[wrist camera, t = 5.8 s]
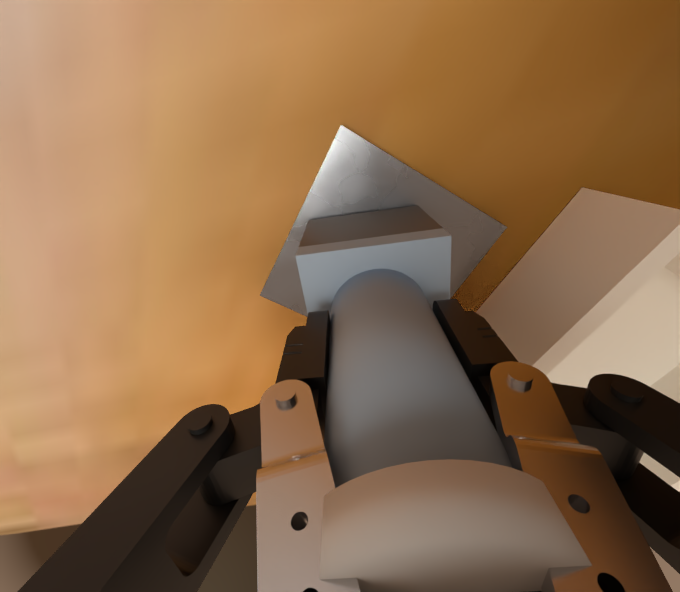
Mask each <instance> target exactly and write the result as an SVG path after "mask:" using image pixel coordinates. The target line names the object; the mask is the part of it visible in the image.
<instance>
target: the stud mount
mask: <svg viewBox="0 0 680 592" xmlns="http://www.w3.org/2000/svg"><path fill="white" fill-rule="evenodd" d="M416 205H418V206H419V207H420V208H421V209H422V210H424V211H425V212H426V213H427V214H428V215H429V216H430V217H431V218H432V219H434V220H435V221H436V222H437V223H438V224H439V225H440V226H441V227H442V228H444V229H445V230H446V231H447V232H448V233H449V234H450V235H451V273H450V299H451V297H452V296H453V295H454V293H455V292H456V291H457V290H458V288H459V287H460V286H461V285H462V283H463V282H464V281H465V280H466V278H467V277H468V276H469V275H470V273H471V272H472V271H473V270H474V268H475V267H476V266H477V264H478V263H479V262H480V261H481V259H482V258H483V257H484V256H485V254H486V253H487V252H488V251H489V249H490V248H491V247H492V246H493V244H494V243H495V242H496V241H497V239H498V238H499V237H500V236H501V234H502V233H503V232H504V230H505V229H506V228H507V227H506V226H504V225H503V224H501V223H500V222H498V221H496V220H495V219H493V218H491V217H490V216H488V215H487V214H485V213H483V212H482V211H480V210H478V209H477V208H475V207H474V206H472V205H470V204H469V203H467V202H465V201H464V200H462V199H461V198H459V197H457V196H456V195H454V194H453V193H451V192H449V191H448V190H446V189H444V188H443V187H441V186H440V185H438V184H436V183H435V182H433V181H431V180H430V179H428V178H427V177H425V176H423V175H422V174H420V173H418V172H417V171H415V170H414V169H412V168H410V167H409V166H407V165H405V164H404V163H402V162H401V161H399V160H397V159H396V158H394V157H392V156H391V155H389V154H388V153H386V152H384V151H383V150H381V149H379V148H378V147H376V146H375V145H373V144H371V143H370V142H368V141H366V140H365V139H363V138H362V137H360V136H358V135H357V134H355V133H353V132H352V131H350V130H349V129H347V128H345V127H344V126H342V125H341V126H340V128H339V130H338V133H337V135H336V137H335V139H334V141H333V143H332V145H331V147H330V149H329V151H328V153H327V156H326V158H325V160H324V162H323V164H322V166H321V168H320V170H319V172H318V174H317V177H316V179H315V181H314V183H313V185H312V187H311V189H310V191H309V193H308V195H307V198H306V200H305V202H304V204H303V206H302V208H301V210H300V212H299V214H298V216H297V219H296V221H295V223H294V225H293V227H292V229H291V231H290V233H289V235H288V237H287V240H286V242H285V244H284V246H283V248H282V250H281V252H280V254H279V256H278V258H277V260H276V263H275V265H274V267H273V269H272V271H271V273H270V275H269V277H268V279H267V281H266V284H265V286H264V288H263V290H262V292H261V294H260V296H262V297H264V298H267V299H269V300H271V301H273V302H276V303H278V304H280V305H282V306H285V307H287V308H289V309H291V310H293V311H296V312H298V313H300V314H302V315H305V316H307V317H308V313H307V308H306V304H305V299H304V294H303V289H302V285H301V280H300V275H299V270H298V266H297V261H296V253H297V250H298V248H299V245H300V242H301V239H302V237H303V234H304V231H305V229H306V226H307V223H308V220H313V219H321V218H328V217H335V216H343V215H350V214H357V213H365V212H372V211H379V210H387V209H394V208H401V207H409V206H416Z"/></svg>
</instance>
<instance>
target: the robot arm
mask: <svg viewBox="0 0 680 592" xmlns="http://www.w3.org/2000/svg"><path fill="white" fill-rule="evenodd" d="M433 312H434V314H435V316H436V318H437V320H438V322H439V323H440V325H441V327H442V329H443V331H444V333H445V335H446V337H447V339H448V340H449V342H450V344H451V346H452V348H453V350H454V352H455V354H456V356H457V357H458V359H459V361H460V363H461V365H462V367H463V369H464V371H465V373H466V375H467V376H468V378H469V380H470V382H471V384H472V386H473V388H474V390H475V392H476V393H477V395H478V397H479V399H480V401H481V403H482V405H483V407H484V409H485V410H486V412H487V414H488V416H489V418H490V420H491V422H492V424H493V426H494V427H495V429H496V431H497V433H498V435H499V437H500V439H501V441H502V443H503V446H504V448H505V450H506V452H507V455H508V457H509V460H510V463H511V465H512V468H514V469H517V470H519V471H522V472H525V473H528V474H529V475H531V476H533V477H535V478H537V479H539V480H541V481H543V483H544V484H545V486H546V488H547V489H548V491H549V493H550V494H551V496H552V498H553V500H554V501H555V503H556V505H557V506H558V508H559V510H560V511H561V513H562V515H563V517H564V518H565V520H566V522H567V523H568V525H569V527H570V528H571V530H572V532H573V533H574V535H575V537H576V539H577V540H578V542H579V544H580V545H581V547H582V549H583V550H584V552H585V554H586V555H587V557H588V559H589V561H590V562H591V564H592V565H591V566H572V567H553V568H549V569H548V571H547V574H546V576H545V579H544V581H543V584H542V586H541V589H542V591H531V592H673V591H672V589H671V587H670V585H669V583H668V582H667V580H666V578H665V576H664V574H663V572H662V570H661V568H660V566H659V564H658V562H657V560H656V558H655V556H654V554H653V552H652V551H651V549H650V547H651V548H652V549H653V550H654V551H655V552H657V553H658V554H659V555H660V556H661V557H662V558H663V559H664V560H665V561H666V562H667V563H669V564H670V565H671V566H672V567H673V568H674V569H675V570H676V571H677V572H678V573H679V574H680V492H678V491H677V490H676V489H674V488H673V487H672V486H670V485H669V484H668V483H666V482H665V481H664V480H662V479H661V478H660V477H658V476H657V475H656V474H654V473H653V472H651V471H650V470H649V469H647V468H646V467H645V466H643V465H642V464H641V463H639V461H640V460H641V458H642V456H643V454H644V453H646V454H647V455H649V456H650V457H651V458H653V459H654V460H656V461H657V462H658V463H660V464H661V465H663V466H664V467H665V468H667V469H668V470H670V471H671V472H672V473H674V474H675V475H677V476H678V477H679V478H680V403H678V402H677V401H675V400H673V399H671V398H669V397H668V396H666V395H664V394H662V393H660V392H659V391H657V390H655V389H653V388H651V387H649V386H648V385H646V384H644V383H642V382H640V381H638V380H635V379H632V378H629V377H626V376H622V375H617V374H599V375H595V376H594V377H592V378H591V379H590V381H589V383H588V386H587V388H583V387H576V386H569V385H562V384H556V383H552V382H550V380H549V379H548V377H547V376H546V375H545V374H544V373H543V372H542V371H540V370H539V369H537V368H535V367H533V366H531V365H528V364H525V363H521V362H518V361H517V359H516V358H515V357H514V355H513V354H512V353H511V352H510V350H509V349H508V348H507V346H506V345H505V344H504V342H503V341H502V340H501V339H500V337H498V336H497V333H496V332H495V331H494V330H493V329H492V327H491V326H490V324H489V323H488V322H487V321H486V319H485V318H484V317H482V316H480V315H479V314H477V313H475V312H474V311H464V309H463V308H462V306H461V305H460V304H459V302H458V301H457V299H446V300H435V301H434V302H433ZM329 338H330V315H329V311H328V310H326V311H315V312H309V313H308V317H307V323H306V326H298V327H295V328H294V329H293V330H292V331H291V332H290V333H289V334H288V336H287V340H286V344H285V348H284V352H283V356H282V360H281V364H280V368H279V372H278V376H277V380H276V383H275V384H274V385H272V386H271V387H270V388H268V389H267V390H266V391H265V393H264V394H263V396H262V397H261V400H260V403H259V404H258V405H256V406H254V407H251V408H249V409H246V410H243V411H240V412H237V413H234V414H231V415H230V414H229V412H228V410H227V409H226V408H225V407H224V406H221V405H217V404H210V405H205V406H201V407H199V408H196V409H194V410H192V411H191V412H189V413H188V414H186V415H185V416H184V417H183V418H182V419H181V420H180V421H179V422H178V423H177V424H176V425H175V426H174V427H173V428H172V429H171V430H170V431H169V432H168V433H167V434H166V436H165V437H164V438H163V439H162V440H161V441H160V442H159V443H158V444H157V445H156V446H155V447H154V448H153V449H152V450H151V451H150V452H149V453H148V455H147V456H146V457H145V458H144V459H143V460H142V461H141V462H140V463H139V464H138V465H137V466H136V467H135V468H134V469H133V470H132V471H131V472H130V474H129V475H128V476H127V477H126V478H125V479H124V480H123V481H122V482H121V483H120V484H119V485H118V486H117V487H116V488H115V489H114V490H113V492H112V493H111V494H110V495H109V496H108V497H107V498H106V499H105V500H104V501H103V502H102V503H101V504H100V505H99V506H98V507H97V508H96V509H95V511H94V512H93V513H92V514H91V515H90V516H89V517H88V518H87V519H86V520H85V521H84V522H83V523H82V524H81V525H80V526H79V527H78V528H77V530H76V531H75V532H74V533H73V534H72V535H71V536H70V537H69V538H68V539H67V540H66V541H65V542H64V543H63V544H62V545H61V546H60V548H59V549H58V550H57V551H56V552H55V553H54V554H53V555H52V556H51V557H50V558H49V559H48V560H47V561H46V562H45V563H44V564H43V565H42V567H41V568H40V569H39V570H38V571H37V572H36V573H35V574H34V575H33V576H32V577H31V578H30V579H29V580H28V581H27V582H26V584H25V585H24V586H23V587H22V588H21V589H20V590H19V591H18V592H197V591H198V589H199V587H200V586H201V584H202V582H203V580H204V579H205V577H206V575H207V573H208V572H209V570H210V568H211V566H212V565H213V563H214V561H215V559H216V557H217V556H218V554H219V552H220V551H221V549H222V547H223V545H224V544H225V542H226V540H227V538H228V537H229V535H230V533H231V531H232V530H233V528H234V526H235V524H236V523H237V521H238V519H239V517H240V515H241V514H242V512H243V510H244V508H245V507H246V505H247V503H248V501H249V500H250V498H251V496H252V494H253V493H254V492H256V502H257V575H258V592H360V588H359V584H358V580H357V578H341V579H322V580H319V578H320V560H321V541H322V522H323V503H324V496H325V495H326V494H328V493H329V492H330V491H332V490H333V489H335V484H334V480H333V476H332V472H331V468H330V464H329V460H328V456H327V452H326V449H325V446H324V435H325V415H326V396H327V378H328V358H329ZM649 546H650V547H649Z"/></svg>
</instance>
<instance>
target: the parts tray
mask: <svg viewBox="0 0 680 592" xmlns="http://www.w3.org/2000/svg"><path fill="white" fill-rule="evenodd" d="M475 313H477V314H479V315H480V316H482V317H484V318H485V319H486V321H487V322H488V323H489V324H490V326H491V327H492V329H493V330H494V331H495V332H496V333H497V336H498V337H500V339H501V340H502V341H503V342H504V344H505V345H506V346H507V348H508V349H509V350H510V352H511V353H512V354H513V355H514V357H515V358H516V359H517V361H518V362H521V363H525V364H528V365H531V366H533V367H535V368H537V369H539V370H540V371H542V372H543V373H544V374H545V375H546V376H547V377H548V379H549V380H550V382H552V383H556V384H562V385H569V386H576V387H583V388H587V386H588V383H589V381H590V379H591V378H592V377H594V376H595V375H599V374H617V375H622V376H626V377H629V378H632V379H635V380H638V381H640V382H642V383H644V384H646V385H648V386H649V387H651V388H653V389H655V390H657V391H659V392H660V393H662V394H664V395H666V396H668V397H669V398H671V399H673V400H675V401H677V402H678V403H680V209H675V208H671V207H666V206H662V205H658V204H653V203H649V202H644V201H640V200H636V199H631V198H627V197H622V196H618V195H614V194H609V193H605V192H600V191H596V190H592V189H587V188H583V187H582V188H581V189H580V191H579V192H578V193H577V194H576V195H575V196H574V198H573V199H572V200H571V201H570V202H569V203H568V205H567V206H566V207H565V208H564V209H563V210H562V212H561V213H560V214H559V215H558V216H557V217H556V219H555V220H554V221H553V222H552V223H551V225H550V226H549V227H548V228H547V229H546V230H545V232H544V233H543V234H542V235H541V236H540V237H539V239H538V240H537V241H536V242H535V243H534V244H533V246H532V247H531V248H530V249H529V250H528V251H527V253H526V254H525V255H524V256H523V257H522V258H521V260H520V261H519V262H518V263H517V264H516V266H515V267H514V268H513V269H512V270H511V271H510V273H509V274H508V275H507V276H506V277H505V278H504V280H503V281H502V282H501V283H500V284H499V285H498V287H497V288H496V289H495V290H494V291H493V292H492V294H491V295H490V296H489V297H488V298H487V299H486V301H485V302H484V303H483V304H482V305H481V307H480V308H479V309H478V310H477V311H476V312H475ZM639 463H641V464H642V465H643V466H645V467H646V468H647V469H649V470H650V471H651V472H653V473H654V474H656V475H657V476H658V477H660V478H661V479H662V480H664V481H665V482H666V483H668V484H669V485H670V486H672V487H673V488H674V489H676V490H677V491H678V492H679V491H680V478H679V477H678V476H677V475H675V474H674V473H672V472H671V471H670V470H668V469H667V468H665V467H664V466H663V465H661V464H660V463H658V462H657V461H656V460H654V459H653V458H651V457H650V456H649V455H647V454H646V453H644V454H643V456H642V458H641V460H640V461H639Z"/></svg>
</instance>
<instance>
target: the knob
mask: <svg viewBox="0 0 680 592" xmlns="http://www.w3.org/2000/svg"><path fill="white" fill-rule="evenodd" d="M296 261H297V266H298V270H299V275H300V280H301V285H302V289H303V294H304V299H305V304H306V308H307V313H309V312H315V311H326V310H328V311H329V315H330V338H329V358H328V378H327V396H326V415H325V435H324V446H325V449H326V452H327V456H328V460H329V464H330V468H331V472H332V476H333V480H334V484H335V489H333V490H332V491H330V492H329V493H328V494H326V495H325V496H324V503H323V522H322V541H321V560H320V578H319V580H322V579H341V578H357V580H358V584H359V588H360V592H531V591H542V589H541V586H542V584H543V581H544V579H545V576H546V574H547V571H548V569H549V568H553V567H572V566H591V565H592V564H591V562H590V561H589V559H588V557H587V555H586V554H585V552H584V550H583V549H582V547H581V545H580V544H579V542H578V540H577V539H576V537H575V535H574V533H573V532H572V530H571V528H570V527H569V525H568V523H567V522H566V520H565V518H564V517H563V515H562V513H561V511H560V510H559V508H558V506H557V505H556V503H555V501H554V500H553V498H552V496H551V494H550V493H549V491H548V489H547V488H546V486H545V484H544V483H543V481H541V480H539V479H537V478H535V477H533V476H531V475H529V474H528V473H525V472H522V471H519V470H517V469H514V468H512V465H511V463H510V460H509V457H508V455H507V452H506V450H505V448H504V446H503V443H502V441H501V439H500V437H499V435H498V433H497V431H496V429H495V427H494V426H493V424H492V422H491V420H490V418H489V416H488V414H487V412H486V410H485V409H484V407H483V405H482V403H481V401H480V399H479V397H478V395H477V393H476V392H475V390H474V388H473V386H472V384H471V382H470V380H469V378H468V376H467V375H466V373H465V371H464V369H463V367H462V365H461V363H460V361H459V359H458V357H457V356H456V354H455V352H454V350H453V348H452V346H451V344H450V342H449V340H448V339H447V337H446V335H445V333H444V331H443V329H442V327H441V325H440V323H439V322H438V320H437V318H436V316H435V314H434V312H433V302H434V301H435V300H446V299H450V273H451V235H450V234H449V233H448V232H447V231H446V230H445V229H444V228H442V227H441V226H440V225H439V224H438V223H437V222H436V221H435V220H434V219H432V218H431V217H430V216H429V215H428V214H427V213H426V212H425V211H424V210H422V209H421V208H420V207H419V206H418V205H416V206H409V207H401V208H394V209H387V210H379V211H372V212H365V213H357V214H350V215H343V216H335V217H328V218H321V219H313V220H308V223H307V226H306V229H305V231H304V234H303V237H302V239H301V242H300V245H299V248H298V250H297V253H296Z"/></svg>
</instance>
